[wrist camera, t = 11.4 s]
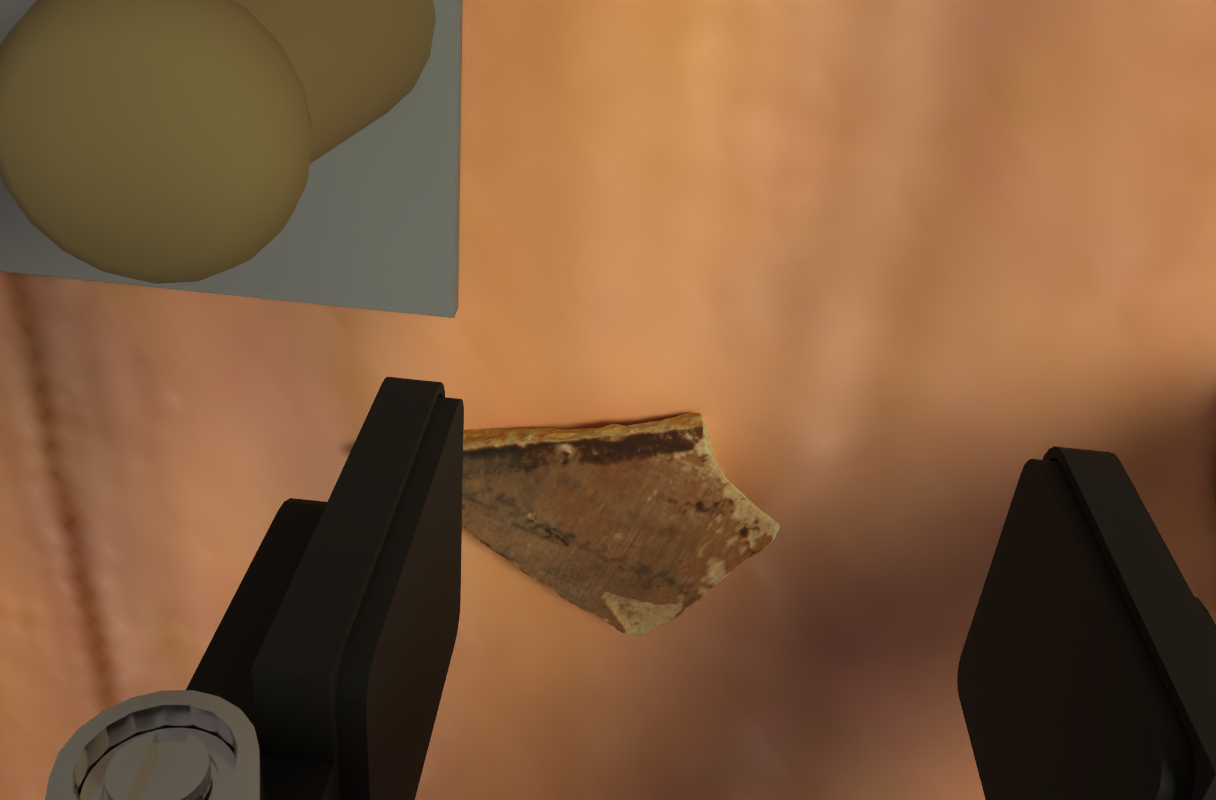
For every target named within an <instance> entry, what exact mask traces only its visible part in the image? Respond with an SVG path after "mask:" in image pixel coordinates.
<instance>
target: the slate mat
mask: <svg viewBox="0 0 1216 800" xmlns="http://www.w3.org/2000/svg"><path fill="white" fill-rule="evenodd" d="M35 1H36V0H0V44H1V43H2V41H3V40H4V38H5V37H6V35H7V34H8V33H9V32H10V31H11V29H12V28H13V27H14V26H15V25H16V23H17V22H18V21H19V20H20V19H21V18H22V16H23V15H24V14H25V13H26V12H27V11H28V9H29V8H30V7H31V6H32V5H33V3H34V2H35ZM433 3H434V9H435V16H436V20H435V26H434V33H433V40H432V46H431V53H430V57H429V59H428V61H427V63H426V65H425V67H424V69H423V71H422V73H421V75H420V77H419V79H418V80H417V82H416V84H415V86H414V88H413V90H412V91H410V92H409V93H408V94H407V95H406V96H405V97H404V98H403V99H402V100H401V101H400V102H398V103H397V104H396V105H395V106H394V107H393V108H392V109H391V110H390V111H389V112H388V113H386V114H385V115H383V116H382V117H380V118H379V119H377V120H376V121H374V122H373V123H371V124H370V125H368V126H367V127H365V128H364V129H362V130H361V131H359V132H358V133H356V134H355V135H353V136H352V137H350V138H349V139H347V140H346V141H344V142H342V143H341V144H339V145H338V146H336V147H335V148H333V149H332V150H330V151H329V152H327V153H326V154H324V155H323V156H321V157H320V158H318V159H317V160H315V161H314V162H312V163H311V164H309V171H308V181H307V185H306V187H305V189H304V191H303V193H302V195H301V197H300V199H299V201H298V203H297V205H296V207H295V209H294V211H293V214H292V216H291V218H290V220H289V221H288V222H287V224H286V225H285V227H284V228H283V229H282V231H281V232H280V233H279V234H278V235H277V236H276V237H275V238H274V239H273V240H272V241H271V242H269V243H268V244H267V245H266V246H265V247H264V248H263V249H262V250H261V251H260V252H258V253H257V254H256V255H255V256H254V257H253V258H252V259H251V260H249V261H247V262H245V263H243V264H240V265H238V266H236V267H234V268H231V269H229V270H226V271H224V272H221V273H219V274H216V275H213V276H211V277H208V278H206V279H203V280H201V281H198V282H180V283H160V284H155V283H150V282H145V281H140V280H136V279H132V278H128V277H123V276H119V275H115V274H111V273H106V272H102V271H100V270H98V269H97V268H95V267H93V266H91V265H89V264H87V263H85V262H83V261H81V260H79V259H77V258H75V257H73V256H72V255H70V254H68V253H66V252H64V251H63V250H62V249H60V248H59V247H58V246H57V245H56V244H55V243H53V242H52V241H51V240H50V239H49V238H48V237H47V236H45V235H44V234H43V233H42V232H41V231H40V230H39V229H37V228H36V227H35V226H34V225H33V224H32V223H30V221H29V220H28V219H27V217H26V216H25V214H24V213H23V211H22V210H21V209H20V207H19V206H18V204H17V203H16V202H15V200H14V199H13V197H12V196H11V195H10V193H9V192H8V190H7V189H6V188H5V186H4V184H3V181H2V178H1V176H0V271H4V272H14V273H23V274H33V275H43V276H52V277H62V278H72V279H81V280H91V281H101V282H110V283H120V284H130V285H140V286H149V287H159V288H169V289H178V290H188V291H198V292H207V293H217V294H227V295H236V296H246V297H256V298H265V299H275V300H285V301H294V302H304V303H314V304H323V305H333V306H343V307H353V308H362V309H372V310H382V311H391V312H401V313H411V314H420V315H430V316H440V317H449V318H454V317H455V314H456V312H457V309H458V267H459V197H460V128H461V59H462V0H433Z"/></svg>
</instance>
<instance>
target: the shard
mask: <svg viewBox="0 0 1216 800" xmlns="http://www.w3.org/2000/svg"><path fill="white" fill-rule="evenodd" d="M462 526H463V527H464V528H466V529H467V530H468V531H469V532H471V533H473V534H474V536H475V537H476V538H477V539H479V540H480V541H481V542H483V543H484V544H485V545H486V546H487V547H489V548H490V549H492V550H493V551H495V552H496V553H498V554H499V555H501V556H503V557H504V558H506V559H508V560H509V561H511V562H512V563H514V564H516V565H517V567H518V568H519V569H520V570H521V571H523V572H524V573H525V574H527V575H528V576H530V577H532V578H533V579H535V580H536V581H538V582H539V583H541V584H543V585H545V586H547V587H549V588H551V589H552V590H553V591H555V592H556V593H557V594H558V595H559V596H560V597H562V598H564V599H565V600H567V601H569V602H570V603H572V604H574V605H576V606H577V607H579V608H581V609H582V610H584V611H586V612H588V613H592V614H596V615H597V616H599V617H600V618H602V619H604V620H605V621H607V622H608V623H609V624H611V625H613V626H614V627H615V628H616V629H617V630H619V631H621V632H623V633H625V634H629V635H642V634H644V633H647V632H650V631H652V630H653V629H655V628H656V627H658V626H660V625H662V624H664V623H665V622H668V621H671V620H673V619H674V618H676V617H678V616H679V615H681V614H682V613H683V612H684V611H685V610H686V609H687V608H688V607H690V606H691V605H692V604H694V603H695V602H696V601H698V600H699V599H701V598H702V597H703V596H704V594H705V593H706V591H707V590H709V589H710V588H712V587H714V586H716V585H717V584H718V583H719V582H720V581H721V580H723V579H724V578H725V577H726V576H727V575H729V574H730V573H731V572H732V571H733V570H734V569H736V568H737V567H738V566H739V565H741V564H742V563H743V562H745V561H746V560H748V559H750V558H751V557H753V556H754V555H756V554H757V553H759V552H760V551H762V550H763V549H765V548H766V547H767V546H768V545H769V544H771V543H772V542H773V541H774V539H775V536H776V534H777V532H778V531H779V529H780V526H779V523H778V522H776V521H775V520H773V519H772V518H771V517H770V516H769V515H768V514H766V513H765V512H764V511H762V510H761V509H759V508H758V507H757V506H756V505H755V504H754V503H753V502H752V501H751V500H750V499H749V498H747V497H746V496H745V495H744V494H743V493H742V492H741V491H739V490H738V489H737V488H736V487H735V486H734V485H733V484H732V483H731V482H730V481H729V480H728V479H727V478H726V477H725V476H724V474H723V472H722V470H721V469H720V467H719V466H718V465H717V462H716V458H715V455H714V453H713V448H712V445H711V443H710V439H709V436H708V433H707V430H706V425H705V422H704V420H703V417H702V415H701V414H699V413H693V414H689V413H684V414H682V415H679V416H676V417H671V418H667V419H664V420H661V421H652V422H646V423H640V424H633V425H629V426H624V425H619V424H610V425H607V426H604V427H600V428H576V429H558V428H549V427H547V428H546V427H541V428H533V429H531V428H514V429H484V430H472V429H469V430H463V479H462Z"/></svg>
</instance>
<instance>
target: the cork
mask: <svg viewBox="0 0 1216 800" xmlns="http://www.w3.org/2000/svg"><path fill="white" fill-rule="evenodd" d="M435 20H436V16H435V9H434V3H433V0H36V1H35V2H34V3H33V5H32V6H31V7H30V8H29V9H28V11H27V12H26V13H25V14H24V15H23V16H22V18H21V19H20V20H19V21H18V22H17V23H16V25H15V26H14V27H13V28H12V29H11V31H10V32H9V33H8V34H7V35H6V37H5V38H4V40H3V41H2V43H1V44H0V176H1V178H2V181H3V184H4V186H5V188H6V189H7V190H8V192H9V193H10V195H11V196H12V197H13V199H14V200H15V202H16V203H17V204H18V206H19V207H20V209H21V210H22V211H23V213H24V214H25V216H26V217H27V219H28V220H29V221H30V223H32V224H33V225H34V226H35V227H36V228H37V229H39V230H40V231H41V232H42V233H43V234H44V235H45V236H47V237H48V238H49V239H50V240H51V241H52V242H53V243H55V244H56V245H57V246H58V247H59V248H60V249H62V250H63V251H64V252H66V253H68V254H70V255H72V256H73V257H75V258H77V259H79V260H81V261H83V262H85V263H87V264H89V265H91V266H93V267H95V268H97V269H98V270H100V271H102V272H106V273H111V274H115V275H119V276H123V277H128V278H132V279H136V280H140V281H145V282H150V283H155V284H160V283H180V282H198V281H201V280H203V279H206V278H208V277H211V276H213V275H216V274H219V273H221V272H224V271H226V270H229V269H231V268H234V267H236V266H238V265H240V264H243V263H245V262H247V261H249V260H251V259H252V258H253V257H254V256H255V255H256V254H257V253H258V252H260V251H261V250H262V249H263V248H264V247H265V246H266V245H267V244H268V243H269V242H271V241H272V240H273V239H274V238H275V237H276V236H277V235H278V234H279V233H280V232H281V231H282V229H283V228H284V227H285V225H286V224H287V222H288V221H289V220H290V218H291V216H292V214H293V211H294V209H295V207H296V205H297V203H298V201H299V199H300V197H301V195H302V193H303V191H304V189H305V187H306V185H307V181H308V171H309V164H311V163H312V162H314V161H315V160H317V159H318V158H320V157H321V156H323V155H324V154H326V153H327V152H329V151H330V150H332V149H333V148H335V147H336V146H338V145H339V144H341V143H342V142H344V141H346V140H347V139H349V138H350V137H352V136H353V135H355V134H356V133H358V132H359V131H361V130H362V129H364V128H365V127H367V126H368V125H370V124H371V123H373V122H374V121H376V120H377V119H379V118H380V117H382V116H383V115H385V114H386V113H388V112H389V111H390V110H391V109H392V108H393V107H394V106H395V105H396V104H397V103H398V102H400V101H401V100H402V99H403V98H404V97H405V96H406V95H407V94H408V93H409V92H410V91H412V90H413V88H414V86H415V84H416V82H417V80H418V79H419V77H420V75H421V73H422V71H423V69H424V67H425V65H426V63H427V61H428V59H429V57H430V53H431V46H432V40H433V33H434V26H435Z"/></svg>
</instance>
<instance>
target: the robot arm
mask: <svg viewBox="0 0 1216 800" xmlns="http://www.w3.org/2000/svg"><path fill="white" fill-rule="evenodd" d="M463 424H464V406H463V401H462V399H455V398H445V391H444V385H443V383H442V382H432V381H422V380H413V379H403V378H394V377H386V378H385V379H384V381H383V383H382V385H381V387H380V389H379V391H378V393H377V395H376V398H375V400H374V402H373V404H372V406H371V409H370V411H369V413H368V415H367V417H366V419H365V422H364V424H363V426H362V428H361V430H360V433H359V435H358V437H357V439H356V441H355V443H354V446H353V448H352V450H351V452H350V454H349V457H348V459H347V461H346V463H345V465H344V467H343V470H342V472H341V474H340V476H339V478H338V481H337V483H336V485H335V487H334V489H333V491H332V494H331V496H330V498H329V500H328V502H321V501H312V500H302V499H293V498H290V499H288V500H287V501H285V502H284V503H283V504H282V506H281V507H280V509H279V510H278V512H277V514H276V516H275V518H274V520H273V522H272V524H271V525H270V527H269V529H268V531H267V533H266V535H265V537H264V539H263V541H262V543H261V545H260V547H259V549H258V551H257V553H256V555H255V557H254V559H253V560H252V562H251V564H250V566H249V568H248V570H247V572H246V574H245V576H244V578H243V580H242V582H241V584H240V586H239V588H238V590H237V592H236V594H235V595H234V597H233V599H232V601H231V603H230V605H229V607H228V609H227V611H226V613H225V615H224V617H223V619H222V621H221V623H220V625H219V627H218V629H217V631H216V632H215V634H214V636H213V638H212V640H211V642H210V644H209V646H208V648H207V650H206V652H205V654H204V656H203V658H202V660H201V662H200V664H199V666H198V667H197V669H196V671H195V673H194V675H193V677H192V679H191V681H190V683H189V685H188V687H187V689H186V690H176V691H159V692H155V693H150V694H146V695H142V696H137V697H133V698H130V699H128V700H126V701H124V702H121V703H119V704H117V705H115V706H113V707H110V708H108V709H106V710H104V711H102V712H101V713H99V714H98V715H97V716H95V717H94V718H93V719H91V720H90V721H89V722H87V723H86V724H85V725H83V726H82V727H81V728H79V729H78V730H77V731H76V732H75V733H74V735H73V736H72V737H71V738H70V740H69V741H68V742H67V743H66V744H65V746H64V747H63V748H62V749H61V751H60V752H59V753H58V756H57V759H56V761H55V764H54V766H53V769H52V772H51V774H50V777H49V781H48V787H47V792H46V798H45V800H415V796H416V793H417V789H418V785H419V781H420V777H421V773H422V769H423V765H424V761H425V757H426V754H427V750H428V746H429V742H430V738H431V734H432V730H433V726H434V722H435V719H436V715H437V711H438V707H439V703H440V699H441V695H442V691H443V687H444V683H445V680H446V676H447V672H448V668H449V664H450V660H451V656H452V652H453V648H454V645H455V640H456V636H457V630H458V623H459V614H460V590H461V535H462V479H463ZM957 682H958V693H959V698H960V702H961V706H962V710H963V714H964V718H965V721H966V725H967V729H968V733H969V737H970V741H971V745H972V749H973V752H974V756H975V760H976V764H977V768H978V772H979V776H980V779H981V783H982V787H983V791H984V795H985V799H986V800H1216V625H1215V623H1214V621H1213V619H1212V617H1211V616H1210V614H1209V612H1208V610H1207V609H1206V608H1205V606H1204V605H1203V604H1202V603H1201V601H1200V600H1199V599H1198V598H1196V597H1194V596H1193V594H1192V592H1191V590H1190V588H1189V586H1188V585H1187V583H1186V581H1185V579H1184V577H1183V575H1182V574H1181V572H1180V570H1179V568H1178V566H1177V564H1176V563H1175V561H1174V559H1173V557H1172V555H1171V553H1170V552H1169V550H1168V548H1167V546H1166V544H1165V542H1164V541H1163V539H1162V537H1161V535H1160V533H1159V531H1158V530H1157V528H1156V526H1155V524H1154V522H1153V521H1152V519H1151V517H1150V515H1149V513H1148V511H1147V510H1146V508H1145V506H1144V504H1143V502H1142V500H1141V499H1140V497H1139V495H1138V493H1137V491H1136V489H1135V488H1134V486H1133V484H1132V482H1131V480H1130V478H1129V477H1128V475H1127V473H1126V471H1125V469H1124V467H1123V466H1122V464H1121V462H1120V460H1119V459H1118V458H1117V456H1116V455H1115V454H1113V453H1110V452H1101V451H1092V450H1082V449H1073V448H1063V447H1053V448H1050V449H1049V450H1048V451H1047V453H1046V454H1045V455H1044V457H1043V460H1037V459H1030V460H1028V461H1027V463H1026V464H1025V465H1024V468H1023V470H1022V472H1021V475H1020V478H1019V481H1018V484H1017V487H1016V490H1015V493H1014V496H1013V499H1012V502H1011V505H1010V509H1009V512H1008V515H1007V518H1006V521H1005V524H1004V527H1003V530H1002V533H1001V536H1000V539H999V542H998V545H997V548H996V551H995V554H994V557H993V560H992V563H991V566H990V569H989V572H988V575H987V578H986V581H985V584H984V587H983V590H982V593H981V596H980V599H979V602H978V605H977V608H976V611H975V615H974V618H973V621H972V624H971V627H970V630H969V633H968V636H967V639H966V642H965V645H964V648H963V651H962V654H961V657H960V661H959V667H958V681H957Z"/></svg>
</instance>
